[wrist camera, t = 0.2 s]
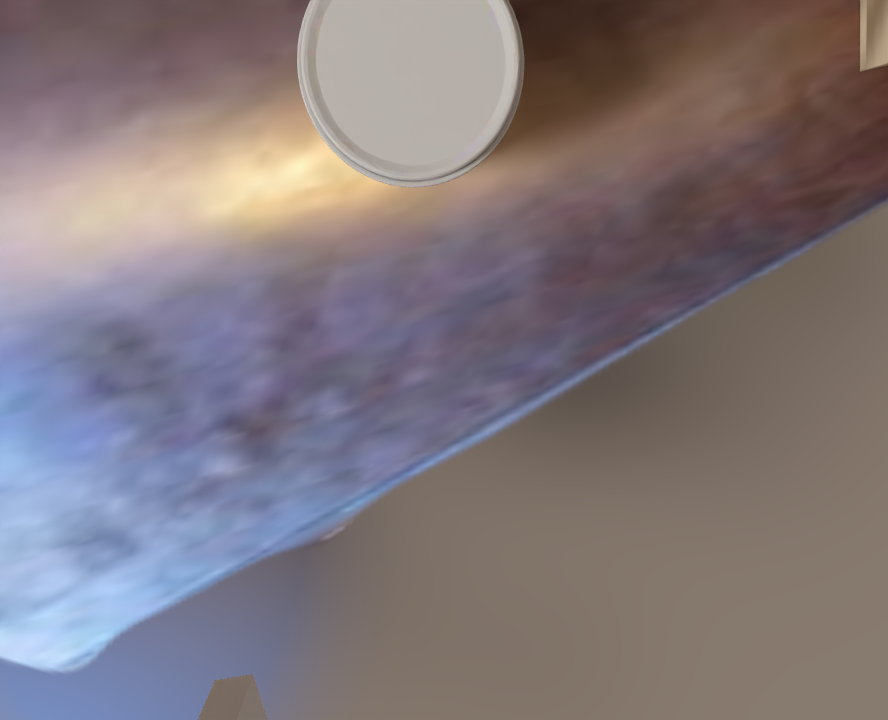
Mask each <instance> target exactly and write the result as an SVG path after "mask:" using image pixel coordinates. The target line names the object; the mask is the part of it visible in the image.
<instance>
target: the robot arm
mask: <svg viewBox="0 0 888 720" xmlns="http://www.w3.org/2000/svg"><path fill="white" fill-rule="evenodd" d="M198 720H268V719H267V716H266V714H265V710H264V707H263V704H262V701H261V698H260V695H259V691H258V688H257V685H256V682H255V679H254V676H253V674H251V675H245V676H240V677H234V678H227V679H221V680H215V681H214V684H213V686H212V688H211V691H210V693H209V695H208V698H207V700H206V702H205V705H204V707H203V709H202V712H201V714H200V716H199V718H198Z"/></svg>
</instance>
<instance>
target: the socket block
mask: <svg viewBox="0 0 888 720" xmlns="http://www.w3.org/2000/svg"><path fill="white" fill-rule="evenodd" d="M884 66H888V0H860V71H864V70H869V69H874V68H879V67H884Z"/></svg>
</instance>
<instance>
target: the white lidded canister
mask: <svg viewBox="0 0 888 720" xmlns="http://www.w3.org/2000/svg"><path fill="white" fill-rule="evenodd" d="M297 66H298V77H299V83H300V89H301V93H302V96H303V100H304V103H305V106H306V108H307V111H308V114H309V116H310V118H311V120H312V122H313V124H314V126H315V128H316V129H317V131H318V132H319V134H320V136H321V137H322V138H323V140H324V141H325V142H326V144H327V145H328V146H329V147H330V148H331V150H332V151H333V152H334V153H335V154H336V155H337V156H338V157H339V158H341V159H342V160H343V161H344V162H345V163H346V164H348V165H349V166H351V167H352V168H353V169H355V170H356V171H358V172H360V173H362V174H363V175H365V176H367V177H369V178H372V179H374V180H377V181H379V182H382V183H386V184H389V185H394V186H400V187H427V186H433V185H438V184H441V183H445V182H448V181H450V180H453V179H455V178H458V177H460V176H461V175H463V174H465V173H467V172H469V171H470V170H472V169H473V168H474V167H476V166H477V165H479V164H480V163H481V162H482V161H483V160H484V159H485V158H486V157H487V156H488V155H489V154H490V153H491V152H492V151H493V150H494V149H495V148H496V146H497V145H498V144H499V142H500V141H501V140H502V138H503V137H504V135H505V133H506V132H507V130H508V128H509V126H510V124H511V122H512V120H513V118H514V115H515V113H516V110H517V107H518V104H519V100H520V96H521V92H522V87H523V79H524V49H523V43H522V36H521V32H520V29H519V25H518V22H517V19H516V16H515V13H514V11H513V9H512V7H511V5H510V2H509V0H311V1H310V3H309V5H308V7H307V10H306V13H305V16H304V18H303V22H302V26H301V30H300V34H299V41H298V52H297Z"/></svg>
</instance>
